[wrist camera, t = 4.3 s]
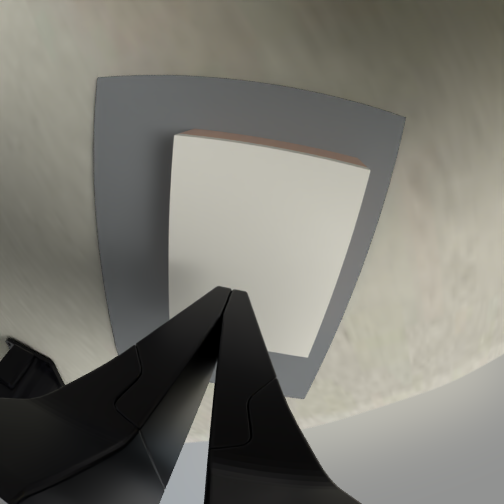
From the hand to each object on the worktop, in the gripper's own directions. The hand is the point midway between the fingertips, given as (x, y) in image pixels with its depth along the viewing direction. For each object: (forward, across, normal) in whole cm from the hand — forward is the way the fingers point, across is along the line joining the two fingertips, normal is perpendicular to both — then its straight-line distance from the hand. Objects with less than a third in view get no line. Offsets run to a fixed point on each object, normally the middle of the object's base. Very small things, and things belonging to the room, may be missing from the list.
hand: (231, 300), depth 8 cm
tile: (+3, +3, 0) cm, 4 cm away
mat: (+5, +1, +2) cm, 5 cm away
